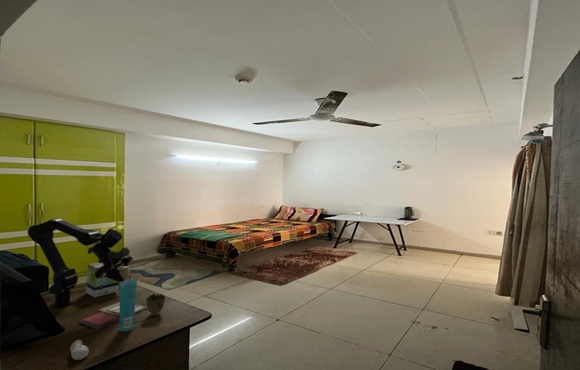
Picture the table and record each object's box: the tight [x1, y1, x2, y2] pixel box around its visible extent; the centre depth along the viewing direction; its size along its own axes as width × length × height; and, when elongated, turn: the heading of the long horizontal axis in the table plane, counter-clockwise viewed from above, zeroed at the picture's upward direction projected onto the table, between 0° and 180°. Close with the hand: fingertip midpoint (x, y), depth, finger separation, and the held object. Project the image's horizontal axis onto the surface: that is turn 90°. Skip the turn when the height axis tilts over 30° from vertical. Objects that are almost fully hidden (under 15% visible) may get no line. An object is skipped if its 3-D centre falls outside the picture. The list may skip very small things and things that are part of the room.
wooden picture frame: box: [97, 301, 148, 319], centre depth 133 cm, size 16×12×1 cm
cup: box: [146, 293, 166, 317], centre depth 130 cm, size 8×7×8 cm
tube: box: [118, 276, 138, 332], centre depth 117 cm, size 7×5×19 cm, turn 158°
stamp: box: [115, 265, 131, 299], centre depth 133 cm, size 5×5×12 cm
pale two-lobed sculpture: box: [69, 339, 90, 361], centre depth 98 cm, size 4×8×5 cm
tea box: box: [85, 260, 121, 298], centre depth 153 cm, size 15×10×15 cm
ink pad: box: [78, 312, 120, 331], centre depth 121 cm, size 11×9×1 cm
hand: (126, 281), depth 133 cm, fingers closed on stamp, 4 cm apart
